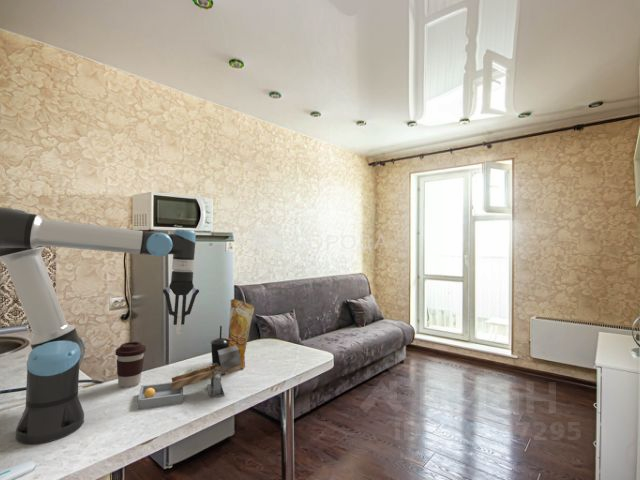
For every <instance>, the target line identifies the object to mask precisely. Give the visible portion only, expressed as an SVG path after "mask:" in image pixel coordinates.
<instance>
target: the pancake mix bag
mask: <svg viewBox="0 0 640 480" xmlns="http://www.w3.org/2000/svg"><path fill="white" fill-rule="evenodd" d="M255 309H256V308H255V306H254V305H253V304H252V303H248V302H245V301H243V300H239V299H235V298H232V299H230V308H229V311H230V312H229V322H228V338H227V339H228V340H230V343H229V347H231V346H235V345H237V347H238V349H239V354H240V359H241V365H242V368H240V369H241V370H244V369H245V368H246V361H245V358H246V356H245V355H246V349H247V345H248V344H247V343H248V338H249V335H250V332H251V331H250V330H251V326H252V321H253V318H254V314H255Z"/></svg>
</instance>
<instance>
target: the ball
mask: <svg viewBox="0 0 640 480" xmlns="http://www.w3.org/2000/svg"><path fill="white" fill-rule="evenodd" d="M154 395H155V390H154V389H153V388H148V389H146V390H145V392H144V396H145V398H152V397H153V396H154Z"/></svg>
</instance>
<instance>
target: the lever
mask: <svg viewBox="0 0 640 480" xmlns="http://www.w3.org/2000/svg"><path fill="white" fill-rule="evenodd" d="M218 355H219V360H220V366H219V367H215V365H212V364H211V365H208V366H205V367H202V368H200V369H199V368H198V369H196V370H193V368H191V369H187V370H183V371H181V372H180V374H179V375H176V376H173V377H171V382H172V383H171V385H172V390H175V389H178V388H181V387H183V388H184V387H187V386H191V385H193V384H196V383H198V382H202V381H206V380H208V379H211V378H212V377H214V371H218V370H221V374H224V373H225V374H226V373H230V372H234V371H237V370H239V369H240V368H242V365H241V359H240V354H239V349H238V347H237V345H235V346H231V347H228V348H224V349H221V350H218Z"/></svg>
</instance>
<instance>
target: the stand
mask: <svg viewBox="0 0 640 480" xmlns="http://www.w3.org/2000/svg"><path fill="white" fill-rule="evenodd" d="M211 365H215V367H219V363H212V362H211ZM206 388H207V391H208V392H207V393H208V396H209V399H211V398H212V399H213V398H217V397H225V392H224V390H223V389H224V387H223V384H222V376H221V370H218V371H214V377H212V378H210V383H207V384H206Z"/></svg>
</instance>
